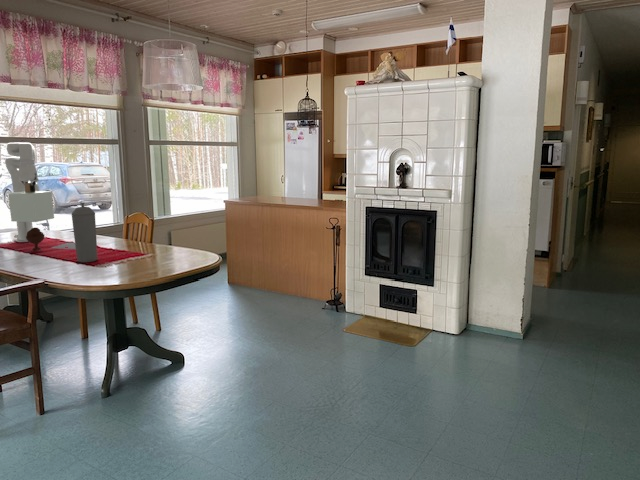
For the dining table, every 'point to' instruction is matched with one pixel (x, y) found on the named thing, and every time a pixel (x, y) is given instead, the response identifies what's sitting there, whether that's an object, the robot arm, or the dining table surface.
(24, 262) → the dining table surface
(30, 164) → the robot arm
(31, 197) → the cover
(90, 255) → the canister
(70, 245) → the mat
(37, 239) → the ice cream bowl
